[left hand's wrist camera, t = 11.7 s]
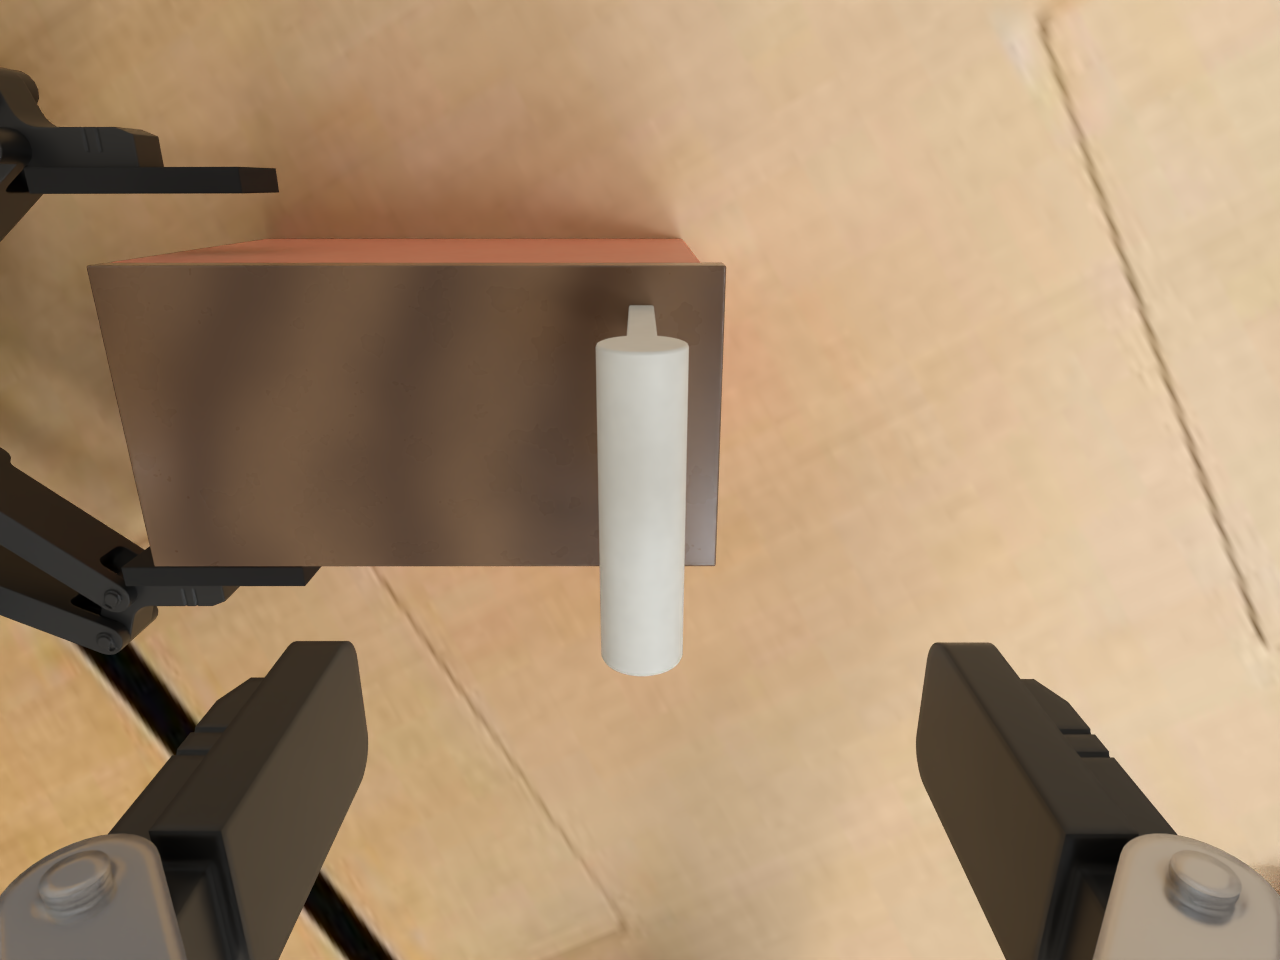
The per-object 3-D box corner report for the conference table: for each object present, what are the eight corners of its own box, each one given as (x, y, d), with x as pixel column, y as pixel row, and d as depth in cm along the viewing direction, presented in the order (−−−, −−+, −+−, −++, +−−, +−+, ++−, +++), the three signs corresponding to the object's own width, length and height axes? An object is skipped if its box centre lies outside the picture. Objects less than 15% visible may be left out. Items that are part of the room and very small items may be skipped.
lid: (723, 262, 23) (766, 303, 15) (713, 553, 27) (744, 712, 19) (106, 262, 23) (-169, 303, 15) (169, 554, 27) (-31, 712, 19)
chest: (682, 238, 33) (701, 262, 24) (679, 452, 37) (693, 553, 27) (265, 238, 33) (107, 262, 24) (297, 452, 37) (170, 553, 27)
